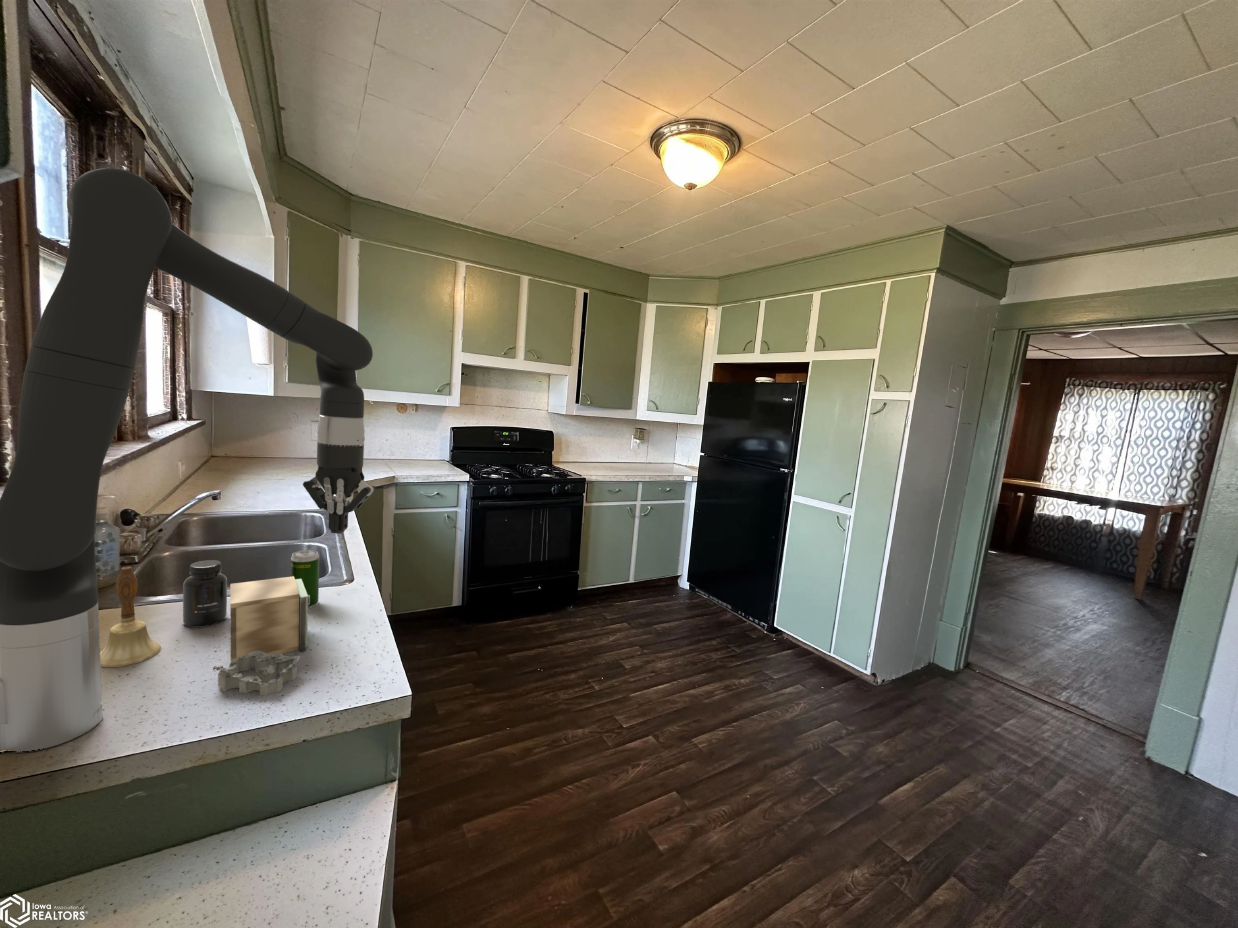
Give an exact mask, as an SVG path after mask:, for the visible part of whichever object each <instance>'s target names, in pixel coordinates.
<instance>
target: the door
mask: <svg viewBox="0 0 1238 928" xmlns="http://www.w3.org/2000/svg"><path fill="white" fill-rule="evenodd" d="M295 581H296V585H297V588H298V591H299V648H300V629H301V597H303V596H305V597H306V635H305V648H306V647H308V619H309V615H308V614H309V609H308V595H307V592H306V590H305V587H304V584H303V582H302V579H295Z"/></svg>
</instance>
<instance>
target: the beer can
mask: <svg viewBox="0 0 1238 928" xmlns="http://www.w3.org/2000/svg"><path fill="white" fill-rule="evenodd" d="M292 576H294V578H295V579H302V582H303V584H304V587H305V590H306V592H307V595H308V608H310V607H313V606H315V605H316V604H317V605H318V603H319V598H320V597H319V595H320V594H319V591H320V590H319V587H320V586H319V585H320V582H319V581H320V555H319V552H318V550H317V551H316V550H313V549H309V550H308V549H307V550H306V549H305V550H299V551H295V552H292V554H291V558H290V576H289V577H292ZM317 605H316V606H317ZM316 606H315V607H316ZM313 608H314V607H313ZM310 609H311V608H310Z"/></svg>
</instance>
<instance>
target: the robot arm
mask: <svg viewBox="0 0 1238 928" xmlns="http://www.w3.org/2000/svg"><path fill="white" fill-rule="evenodd" d="M66 199H67V200H66V208H67V211H68V215H69V216H70V218H71V226H70V227H71V228H70V236H69V242H68V243H69V244H68V251H67V256H66V263H65V264H64V268H63V271H62V274H61V277H60V279H59V281H58V283H57V285H56V287H55V288H54V289H53V290H54V291H53V292H52V294H51V296H50V298H49V300H48V301H47V304H46V306H45V308H44V310H43V312H42V314H41V317H40V320H39V321H38V324H37V327H36V330H35V332H34V334H33V335H34V336H33V338H32V341H31V345H30V348H29V352H28V356H27V361H26V364H25V368H24V369H25V370H24V372H23V378H22V383H21V384H22V385H21V391H20V399H19V406H18V407H19V409H18V428H17V431H18V432H17V447H16V452H15V453H16V454H15V458H14V461H13V465H12V468H11V471H10V474H9V475H8V479H7V481H6V483H5V486H4V488H3V491H2V494H1V496H0V751H2V750H10V751H17V752H16V753H23V752H22V751H29V752H32V751H31V750H35V751H39V750H38V749H40V750H44V749H48V748H52V747H55V746H58V745H61V744H64V743H66V742H69V741H71V740H75V738H77V737H80V736H81V735H84V734H86V733H87V732H89V731H91V730H92V729H94V728H95V727H96V726H97V725H98V724H99V723H100V722H101V721H102V719H103V693H102V688H103V687H102V686H103V685H102V667H101V661H100V652H101V644H100V643H101V641H100V637H101V636H100V619H99V615H100V613H99V592H98V591H99V588H98V587H99V586H98V585H99V584H98V576H97V575H98V573H97V572H98V571H97V566H96V565H97V563H96V544H95V543H96V542H95V539H96V538H95V535H96V532H97V508H98V496H99V488H100V481H101V475H102V468H103V465H104V462H105V458H106V456H107V453H108V450H109V448H110V445H111V444H112V441H113V440H114V437H115V435H116V431H117V430H118V426H119V423H120V421H121V418H122V415H123V412H124V410H125V409H124V408H125V405H126V403H127V400H128V397H129V393H130V389H131V384H132V382H133V377H134V374H135V369H136V365H137V360H138V353H139V348H140V343H141V335H142V331H143V330H142V329H143V322H144V321H143V320H144V313H145V302H146V297H147V294H148V288H149V285H150V283H151V278H152V277H153V273H154V271H155V269H157V270H159V271H161V272H164V273H166V274H168V275H170V276H172V277H174V278H176V279H178V280H180V281H182V282H184V283H186V284H188V285H190V286H192V287H193V288H196V289H198V290H199V291H202V292H203V293H205V294H207V295H208V296H211V297H212V298H214V299H215V300H218V301H219V302H221V304H224V305H226V306H227V307H229V308H230V309H232V310H234V311H236V312H238V313H239V314H240V315H242V316H244V317H247V318H248V319H250V320H251V321H253V322H254V323H256V324H258V325H260V326H261V327H262V328H263V327H264V329H267V330H268V331H270V332H272V333H274V334H276V335H278V336H280V337H281V338H282V339H284V340H287V341H289V342H291V343H293V344H297V345H301V346H304V347H307V348H308V349H309V350H312V351H314V352H315V353H314V354H315V368H316V372H317V378H318V380H317V381H318V383H319V387H320V398H319V400H320V401H319V420H318V424H317V438H316V439H317V441H316V465H317V467H318V468H317V470H316V472H315V476H314V477H312V478H311V479H309V480H305V481H303V483H302V486H303V488H304V489H305V491H306V492H307V493H308V495H309V496H310V498H311V499H312V500H313V502H314V503H315V504H316V507H317V508H318V509H319V510H325V511H326V512H327V513H328V529H329V530H330V533H331V534H338V535H339V534H342V533H345V531H346V530H347V529H348V528H349V513H351V512H354V511H357V510H359V509H360V508H362V506H363V504H364V503H366V501H367V500H368V499H369V498H370V497H371V496H372V494H373V493H374V492H375V491H376V487H375V485H370V484H369V483H368V482H366V480H365V475H364V473H363V472H364V471H363V467H364V456H365V453H364V452H365V441H366V439H365V422H364V417H365V415H364V414H365V393H364V391H363V389H362V388H361V387H360V386H359V385H358V383H357V382H358V381H357V372H356V371H359V370H362V369H364V368H366V367H368V366H369V364H370V363H371V362H372V360H373V356H374V354H373V347H372V345H371V343H370V342H369V339H368V338H367V337H365V336H364V335H363V334H362V333H361V332H360V331H358V330H357V329H355V328H353V327H352V326H350V325H348V324H346V323H344V322H342V321H340V320H338V319H336V318H333V316H331V315H328V314H326V313H324V312H321V311H319V310H318V309H316V308H315V307H313V306H311V305H310V304H309V303H307V302H306V301H304V300H303V299H301V298H300V297H298V296H296V295H295V294H293V293H292V292H291V291H289V290H288V289H286V288H285V287H283V286H281V285H280V284H278V283H276V282H274V281H272V280H271V279H269V278H267V277H266V276H263V275H262V274H260V273H257V272H255V271H253V270H251V269H249V268H248V267H245V266H243V265H241V264H239V263H237V262H234V261H232V260H231V259H229V258H227V257H224V256H222V255H221V254H219V253H217V252H216V251H213V250H212V249H210V248H208V247H207V246H205V245H203V244H202V243H200V242H199V241H197V240H196V239H194V238H193V237H192V236H190V235H189V234H187V233H186V232H184V231H183V230H182V229H180V227H178V226H177V225H176V224H174V223H173V220H172V219H173V218H172V214H171V210H170V207H169V205H168V203H167V201H166V200H165V198H164V196H163V195H162V193H161V192H160V191H159V190H158V189H157V188H156V187H155V186H154V185H153V184H152V183H151V182H149V181H148V180H147V179H145V178H143V177H142V176H140V175H139V174H136V173H134V172H132V171H129V170H126V169H121V168H115V167H114V168H113V167H112V168H111V167H105V168H104V167H103V168H96V169H92V170H89V171H86V172H84V173H83V174H81V175H80V176H79V177H78V178H77V179H76V180H75V181H74V182H73V184H72V185H71V188H70V190H69V192H68V194H67V197H66ZM356 491H357V494H356V495H355V497H354V493H355V492H356ZM43 748H44V749H43ZM18 751H19V752H18ZM20 751H21V752H20Z"/></svg>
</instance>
